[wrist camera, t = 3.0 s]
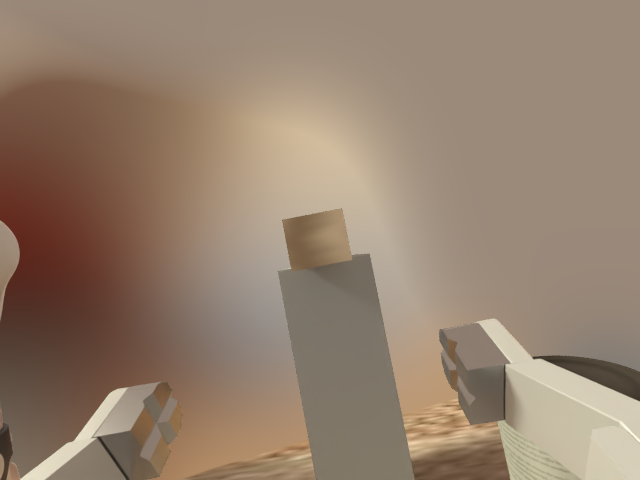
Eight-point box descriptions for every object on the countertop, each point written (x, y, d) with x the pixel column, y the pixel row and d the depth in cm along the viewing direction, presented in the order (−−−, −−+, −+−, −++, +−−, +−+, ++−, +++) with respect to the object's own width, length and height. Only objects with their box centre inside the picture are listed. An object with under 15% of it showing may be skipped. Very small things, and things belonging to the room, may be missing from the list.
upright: (329, 594, 25) (271, 272, 26) (328, 477, 38) (289, 267, 39) (441, 574, 25) (376, 252, 26) (401, 464, 38) (359, 253, 39)
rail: (291, 271, 18) (282, 220, 18) (311, 262, 40) (306, 240, 40) (352, 259, 18) (342, 208, 18) (338, 257, 39) (333, 234, 40)
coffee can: (532, 498, 30) (500, 351, 30) (697, 549, 23) (650, 359, 24) (514, 603, 22) (471, 401, 23) (755, 726, 15) (682, 433, 16)
